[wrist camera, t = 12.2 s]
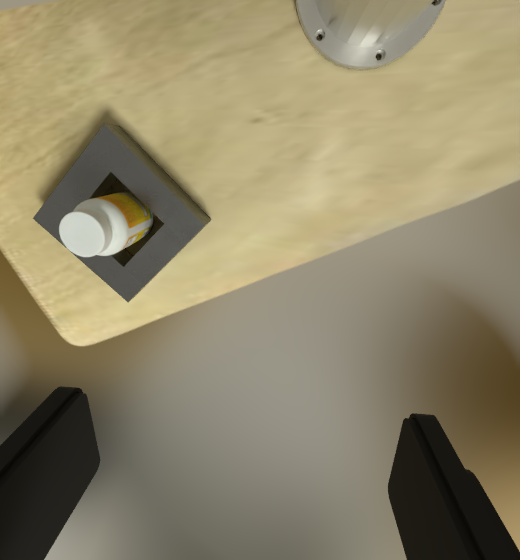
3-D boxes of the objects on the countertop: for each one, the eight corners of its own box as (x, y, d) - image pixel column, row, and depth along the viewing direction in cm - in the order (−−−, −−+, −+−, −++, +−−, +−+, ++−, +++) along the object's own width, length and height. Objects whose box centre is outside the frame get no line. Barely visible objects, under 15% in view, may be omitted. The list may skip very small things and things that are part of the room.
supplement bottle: (152, 243, 38) (111, 271, 29) (107, 233, 38) (51, 258, 29) (157, 196, 36) (113, 211, 27) (108, 185, 36) (49, 197, 27)
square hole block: (119, 126, 33) (104, 123, 31) (211, 219, 36) (205, 225, 33) (51, 213, 37) (32, 218, 35) (139, 291, 40) (128, 302, 37)
